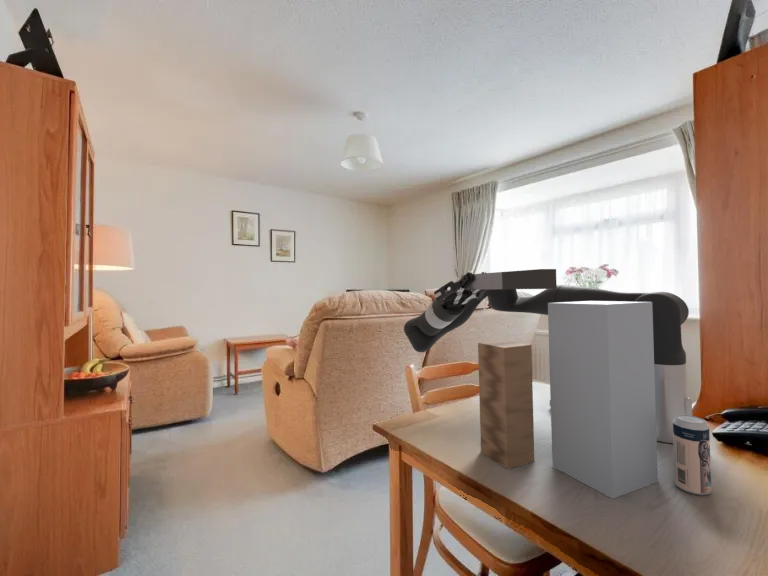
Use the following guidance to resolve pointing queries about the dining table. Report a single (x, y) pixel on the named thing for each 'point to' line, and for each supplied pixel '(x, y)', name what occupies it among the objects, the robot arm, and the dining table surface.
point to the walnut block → (506, 402)
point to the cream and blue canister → (692, 454)
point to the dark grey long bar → (514, 280)
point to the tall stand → (603, 394)
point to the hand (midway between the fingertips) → (478, 275)
